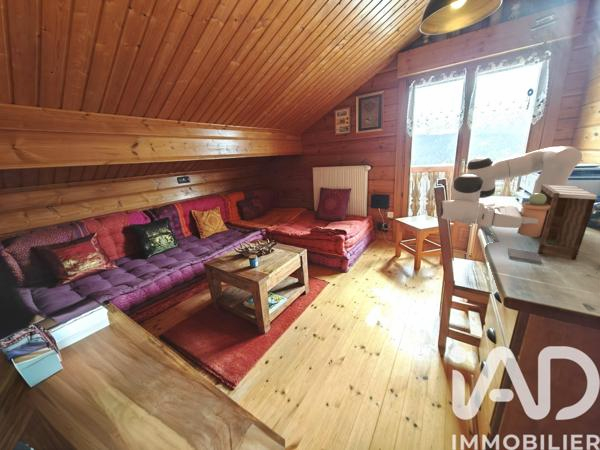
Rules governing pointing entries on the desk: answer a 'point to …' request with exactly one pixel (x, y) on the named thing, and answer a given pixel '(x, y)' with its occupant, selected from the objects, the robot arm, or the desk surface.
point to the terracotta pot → (534, 215)
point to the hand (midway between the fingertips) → (536, 218)
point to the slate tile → (524, 255)
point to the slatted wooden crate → (565, 220)
